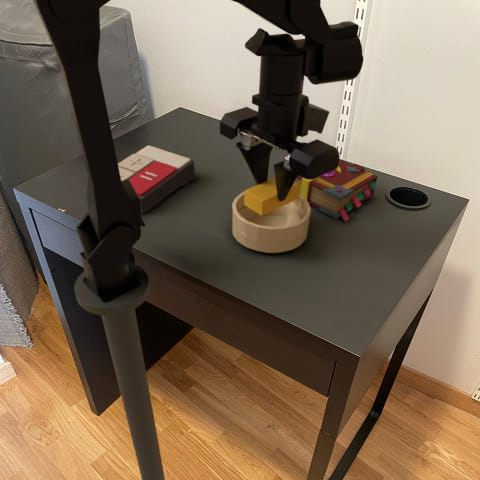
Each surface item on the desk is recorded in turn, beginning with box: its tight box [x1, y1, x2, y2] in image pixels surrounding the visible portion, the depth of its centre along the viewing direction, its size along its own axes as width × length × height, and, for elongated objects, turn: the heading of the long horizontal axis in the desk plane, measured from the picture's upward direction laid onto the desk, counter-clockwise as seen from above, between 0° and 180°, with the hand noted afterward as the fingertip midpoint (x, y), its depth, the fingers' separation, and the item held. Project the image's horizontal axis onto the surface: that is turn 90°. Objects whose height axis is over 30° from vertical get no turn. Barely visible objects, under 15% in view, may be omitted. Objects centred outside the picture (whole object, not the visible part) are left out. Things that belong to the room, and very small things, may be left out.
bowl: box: [231, 191, 312, 254], centre depth 77 cm, size 12×12×5 cm
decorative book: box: [272, 159, 378, 222], centre depth 86 cm, size 11×16×5 cm
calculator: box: [118, 144, 196, 214], centre depth 87 cm, size 11×4×15 cm
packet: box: [244, 177, 300, 216], centre depth 74 cm, size 8×4×2 cm, turn 131°
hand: (272, 194), depth 74 cm, fingers closed on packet, 4 cm apart
